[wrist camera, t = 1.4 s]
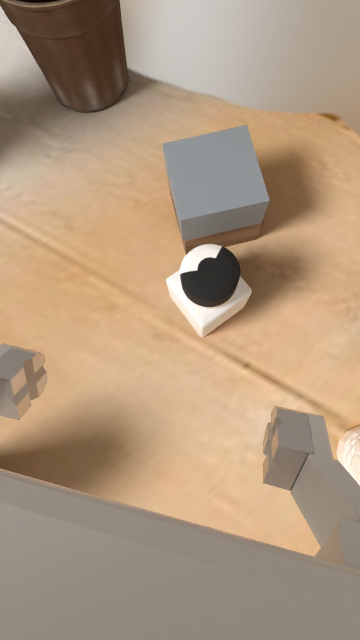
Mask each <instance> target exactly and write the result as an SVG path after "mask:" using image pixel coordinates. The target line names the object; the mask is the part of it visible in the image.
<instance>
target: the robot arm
mask: <svg viewBox="0 0 360 640" xmlns="http://www.w3.org/2000/svg"><path fill="white" fill-rule="evenodd" d="M44 363H45V358H44V354H42V353H40V352H36V351H32V350H28V349H24V348H20V347H17V346H16V347H15V346H11V345H7V344H4V343H3V344H0V416H4V417H8V418H13V419H17V420H20V419H21V418H22V416H23V415H24V414H25V413H26V412H27V410H28V409H29V408H30V407H31V400H33V399H35V398H37V397H39V396H40V395H41V393H42V392H43V390H44V388H45V386H46V383H47V372H46V370H45V369H44V368H43V366H42V365H43V364H44ZM263 453H264V454H265V456H266V458H265V460H264V463H263V483H265V484H268V485H272V486H275V487H279V488H282V489H286V490H289V491H291V494H292V496H293V498H294V500H295V501H296V503H297V505H298V507H299V509H300V510H301V512H302V514H303V516H304V518H305V519H306V521H307V523H308V525H309V527H310V528H311V530H312V532H313V534H314V536H315V537H316V539H317V541H318V543H319V545H320V546H321V548H320V550H319V551H318V553H317V554H316V556H315V557H313V556H310V555H306V554H302V553H299V552H295V551H292V550H288V549H285V548H281V547H278V546H274V545H270V544H267V543H263V542H260V541H256V540H253V539H249V538H246V537H242V536H239V535H235V534H231V533H228V532H224V531H221V530H217V529H214V528H210V527H206V526H203V525H199V524H196V523H192V522H189V521H185V520H181V519H178V518H174V517H171V516H167V515H164V514H160V513H156V512H153V511H149V510H146V509H142V508H139V507H135V506H131V505H128V504H124V503H121V502H117V501H114V500H110V499H106V498H103V497H99V496H96V495H92V494H89V493H85V492H82V491H78V490H75V489H71V488H68V487H64V486H60V485H57V484H53V483H50V482H46V481H43V480H39V479H36V478H32V477H29V476H25V475H21V474H18V473H14V472H11V471H7V470H4V469H0V640H360V485H359V484H358V483H357V482H356V480H355V479H354V478H353V477H352V476H351V475H350V473H349V472H348V471H347V470H346V469H345V468H344V467H343V465H342V464H341V463H340V462H339V461H338V460H334V459H333V455H332V451H331V446H330V442H329V437H328V433H327V428H326V423H325V419H324V417H323V416H320V415H315V414H311V413H305V412H301V411H296V410H291V409H287V408H282V407H278V406H274V408H273V410H272V413H271V422H270V423H268V424H267V427H266V430H265V435H264V441H263Z"/></svg>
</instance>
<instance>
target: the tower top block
mask: <svg viewBox="0 0 360 640" xmlns="http://www.w3.org/2000/svg"><path fill="white" fill-rule="evenodd" d="M163 150H164V157H165V164H166V171H167V176H168V180H169V184H170V188H171V193H172V197H173V201H174V206H175V210H176V214H177V219H178V223H179V227H180V232H181V236H182V240H183V241H184V240H188V239H193V238H197V237H202V236H206V235H211V234H215V233H220V232H224V231H229V230H233V229H238V228H242V227H247V226H251V225H256V224H260V223H262V220H263V218H264V215H265V212H266V210H267V207H268V204H269V202H270V199H269V196H268V193H267V189H266V186H265V183H264V180H263V176H262V173H261V170H260V166H259V163H258V160H257V157H256V153H255V150H254V147H253V143H252V140H251V137H250V134H249V130H248V127H247V125H244V126H240V127H235V128H231V129H227V130H222V131H218V132H213V133H209V134H204V135H200V136H195V137H191V138H186V139H182V140H178V141H173V142H169V143H164V144H163Z"/></svg>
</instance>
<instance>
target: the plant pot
mask: <svg viewBox="0 0 360 640" xmlns="http://www.w3.org/2000/svg"><path fill="white" fill-rule="evenodd" d="M0 5H1V7H2V9H3V10H4V12H5V14H6V16H7V17H8V19H9V20H10V21H11V23H12V24H13V25H14V26H16V28H17V30H18V31H19V33H20V35H21V36H22V38H23V40H24V41H25V43H26V45H27V47H28V48H29V50H30V52H31V53H32V55H33V57H34V59H35V60H36V62H37V64H38V65H39V67H40V69H41V71H42V72H43V74H44V76H45V78H46V79H47V81H48V83H49V85H50V87H51V88H52V90H53V92H54V94H55V95H56V97H57V98H58V100H59V101H60V102H61V103H62V104H63V105H65V106H69V107H71V108H73V109H74V110H76V111H80V112H92V111H98V110H101V109H104V108H106V107H108V106H110V105H112V104H113V103H115V102H116V101H117V100H118V99H119V97H120V95H121V93H122V91H123V90H125V89H126V87H127V83H128V71H127V63H126V55H125V48H124V39H123V30H122V21H121V12H120V11H121V10H120V1H119V0H0Z"/></svg>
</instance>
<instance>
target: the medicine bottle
mask: <svg viewBox="0 0 360 640" xmlns="http://www.w3.org/2000/svg"><path fill="white" fill-rule="evenodd" d="M166 283H167V286H168V289H169V293H170V296H171V299H172V300H173V301H174V302H175V304H176V305H177V306H178V308H179V309H180V310H181V312H182V313H183V314H184V316H185V317H186V318H187V320H188V321H189V322H190V324H191V325H192V326H193V328H194V329H195V330H196V332H197V333H198V334H199V336H200V337H204V336H206V335H207V334H209V333H210V332H211V331H213V330H214V329H215V328H217V327H218V326H219V325H221V324H222V323H224V322H225V321H226V320H228V319H229V318H230V317H232V316H233V315H234V314H236V313H237V312H238V311H240V310H241V309H243V308H244V306H245V304H246V302H247V301H248V299H249V297H250V295H251V293H252V290H251V288H250V287H249V286H248V285H247V283H246V282H245V281H244V280H243V279H242V277H241V276H240V266H239V263H238V261H237V259H236V257H235V256H234V255H233V253H232V252H230V251H229V250H228V249H226V248H224V247H222V246H220V245H216V244H205V245H201V246H198V247H196V248H194V249H192V250H191V251H190V252H189V253H188V254H187V255H186V256H185V257H184V259H183V261H182V263H181V267H180V270H178V271H177V272H175V273H174V274H173V275H171V276H170V277H168V278H167V279H166Z"/></svg>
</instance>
